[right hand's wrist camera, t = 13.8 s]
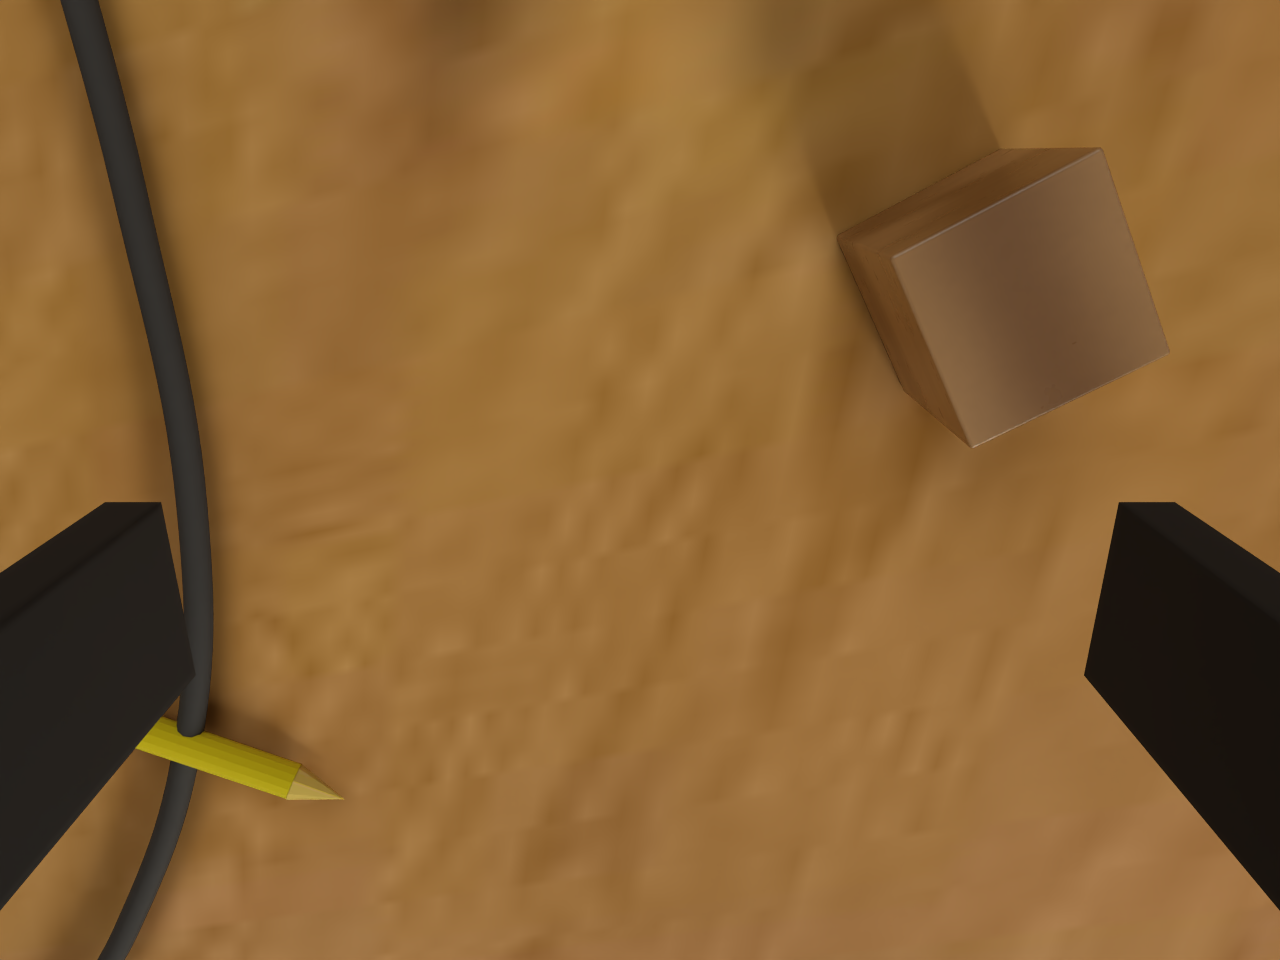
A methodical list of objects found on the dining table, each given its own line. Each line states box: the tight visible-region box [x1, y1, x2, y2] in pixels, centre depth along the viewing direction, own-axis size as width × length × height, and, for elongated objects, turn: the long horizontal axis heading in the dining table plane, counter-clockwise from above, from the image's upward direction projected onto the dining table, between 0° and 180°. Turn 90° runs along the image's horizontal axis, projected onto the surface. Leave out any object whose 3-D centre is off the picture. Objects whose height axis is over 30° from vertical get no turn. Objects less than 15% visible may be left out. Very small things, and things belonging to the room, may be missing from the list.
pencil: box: [136, 717, 344, 800], centre depth 24 cm, size 16×1×1 cm, turn 66°
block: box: [837, 148, 1170, 448], centre depth 19 cm, size 4×4×5 cm
